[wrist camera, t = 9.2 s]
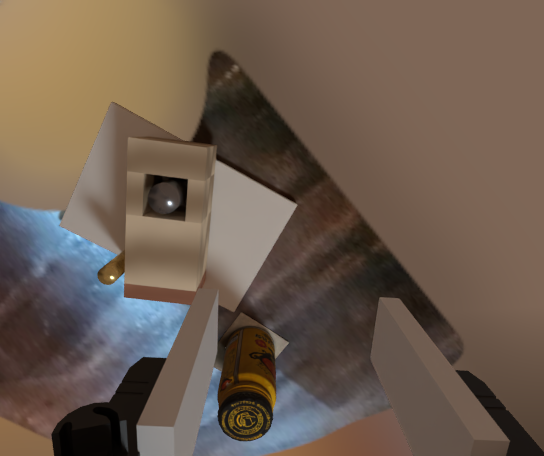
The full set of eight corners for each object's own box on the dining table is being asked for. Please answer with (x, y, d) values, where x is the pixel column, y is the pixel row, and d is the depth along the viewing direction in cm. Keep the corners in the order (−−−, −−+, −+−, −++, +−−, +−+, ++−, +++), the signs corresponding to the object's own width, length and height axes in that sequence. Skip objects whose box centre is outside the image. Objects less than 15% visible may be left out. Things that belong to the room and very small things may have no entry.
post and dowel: (124, 254, 41) (93, 280, 34) (167, 164, 39) (144, 171, 31) (155, 269, 42) (131, 298, 35) (199, 181, 39) (184, 192, 32)
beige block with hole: (149, 136, 37) (127, 137, 31) (217, 145, 37) (207, 147, 31) (144, 273, 41) (124, 297, 35) (205, 280, 41) (194, 305, 35)
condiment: (289, 341, 45) (296, 415, 33) (250, 388, 46) (243, 473, 35) (241, 311, 44) (231, 375, 32) (203, 359, 45) (180, 438, 34)
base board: (63, 224, 40) (59, 225, 40) (114, 102, 37) (111, 101, 36) (234, 309, 43) (234, 312, 43) (296, 203, 40) (297, 205, 39)
